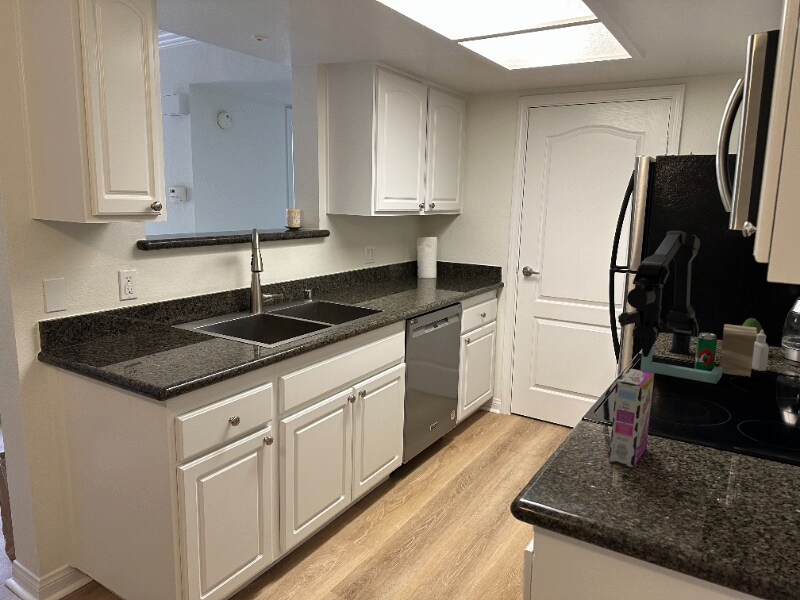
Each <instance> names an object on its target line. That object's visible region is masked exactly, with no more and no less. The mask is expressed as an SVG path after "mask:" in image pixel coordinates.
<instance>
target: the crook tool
mask: <svg viewBox="0 0 800 600" xmlns="http://www.w3.org/2000/svg"><path fill="white" fill-rule="evenodd" d="M653 352H654V346H653V347H652V349H651V351H650V352H649V354H648V356H647V357H644V356H643V352H642V351H641V361H640V362H641V363H640V370H641V371H647V372H652V373H654V374H660V375H665V376H671V377H676V378H682V379H685V380H686V379H687V380H692V381H698V382H704V383H710V384H715V385H716V384H717V383H718V382H719V381H720V379H721V378H722V376H723V373H722V369H723V368H720V366H714V368H713V370H712V371H711V372H709V371H703V370H697V369H694V368H690V367H686V366H678V365H672V364H668V363H667V364H666V363H661V362H655V361H653Z"/></svg>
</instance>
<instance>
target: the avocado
mask: <svg viewBox="0 0 800 600" xmlns="http://www.w3.org/2000/svg"><path fill="white" fill-rule="evenodd" d="M741 326H747V327H756V329H757V334H759V333H760V331H761V330H763V327H762V325H761V324H760V322H759V320H757V319H756V318H754V317H750V318H748V319H747V318H746V320H745V321H744V322H743V323H742V325H741ZM756 338H757V336H755V341H756Z"/></svg>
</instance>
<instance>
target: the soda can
mask: <svg viewBox="0 0 800 600" xmlns="http://www.w3.org/2000/svg"><path fill="white" fill-rule="evenodd" d="M717 343H718V338H717V334H714V333H711V332H700V333H699V332H698V336H697V341H696V347H695V348H696V349H695V359H694V360H695V361H694V368H693V369H697V370H703V371H709V372H711V371H712V370H713V368H714V367H715V363H716V361H715V356H717V355H716V353H717Z"/></svg>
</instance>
